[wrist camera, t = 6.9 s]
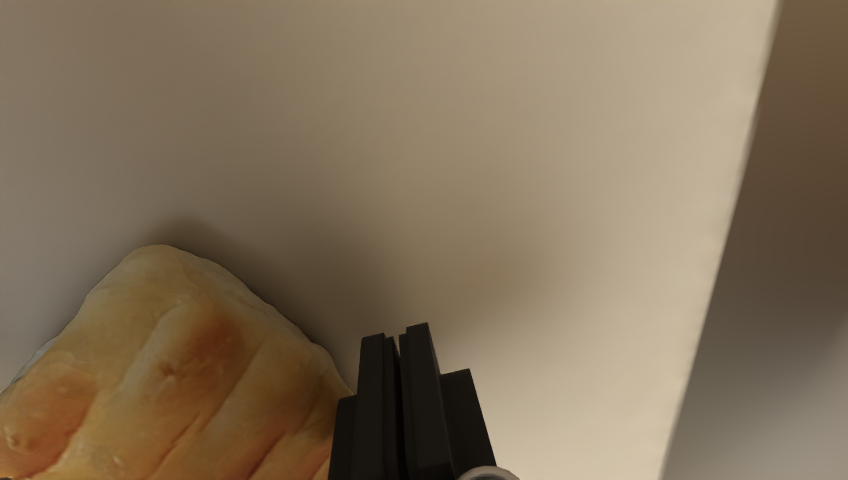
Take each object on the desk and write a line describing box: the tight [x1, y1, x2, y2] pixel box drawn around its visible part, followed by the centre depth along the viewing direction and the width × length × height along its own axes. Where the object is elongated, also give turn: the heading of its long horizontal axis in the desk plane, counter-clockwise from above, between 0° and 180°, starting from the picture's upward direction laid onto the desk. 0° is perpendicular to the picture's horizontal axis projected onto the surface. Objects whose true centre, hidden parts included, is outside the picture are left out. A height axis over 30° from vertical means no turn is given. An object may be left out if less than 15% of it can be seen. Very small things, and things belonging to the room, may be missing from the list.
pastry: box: [0, 244, 354, 480], centre depth 10 cm, size 9×7×4 cm
